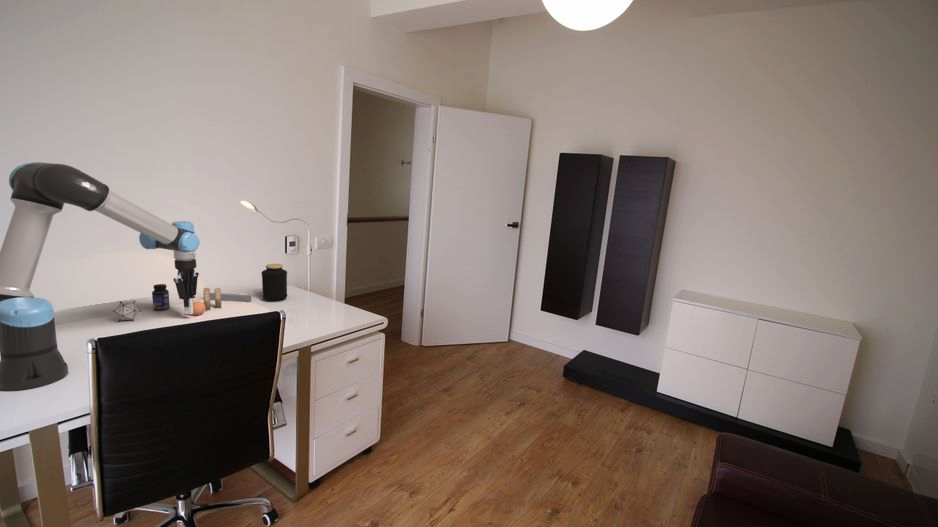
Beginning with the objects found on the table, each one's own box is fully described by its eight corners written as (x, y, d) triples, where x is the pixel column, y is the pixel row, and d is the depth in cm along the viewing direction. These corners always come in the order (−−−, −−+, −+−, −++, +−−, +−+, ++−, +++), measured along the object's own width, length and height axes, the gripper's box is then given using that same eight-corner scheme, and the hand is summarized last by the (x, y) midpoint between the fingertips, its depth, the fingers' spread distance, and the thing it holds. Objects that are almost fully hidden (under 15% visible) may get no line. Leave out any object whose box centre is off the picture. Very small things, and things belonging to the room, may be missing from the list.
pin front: (208, 311, 197) (207, 291, 195) (203, 310, 197) (202, 291, 195) (211, 309, 199) (210, 290, 198) (206, 309, 199) (205, 290, 198)
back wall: (249, 302, 214) (249, 296, 213) (204, 299, 214) (204, 293, 213) (251, 301, 216) (251, 295, 215) (207, 298, 216) (206, 292, 215)
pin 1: (208, 308, 201) (207, 289, 200) (203, 307, 201) (202, 288, 200) (211, 306, 204) (210, 287, 202) (206, 306, 204) (205, 287, 202)
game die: (129, 330, 179) (121, 316, 172) (112, 321, 180) (103, 306, 173) (148, 315, 185) (141, 301, 178) (132, 306, 186) (124, 291, 179)
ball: (206, 299, 192) (210, 309, 195) (193, 298, 192) (197, 308, 195) (198, 307, 186) (202, 318, 190) (184, 306, 187) (188, 317, 190)
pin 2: (219, 308, 201) (218, 289, 200) (214, 308, 201) (213, 289, 200) (222, 307, 204) (221, 288, 202) (217, 306, 204) (216, 288, 202)
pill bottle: (167, 310, 195) (166, 286, 193) (151, 311, 192) (149, 287, 190) (171, 306, 200) (169, 283, 198) (155, 307, 198) (153, 283, 196)
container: (259, 297, 222) (258, 263, 219) (283, 295, 229) (284, 262, 226) (264, 304, 213) (264, 268, 209) (290, 301, 220) (290, 266, 216)
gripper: (183, 262, 174) (187, 318, 178) (203, 256, 187) (207, 309, 191) (165, 261, 174) (169, 317, 179) (186, 255, 187) (190, 308, 191)
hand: (189, 313), depth 185 cm, fingers closed
